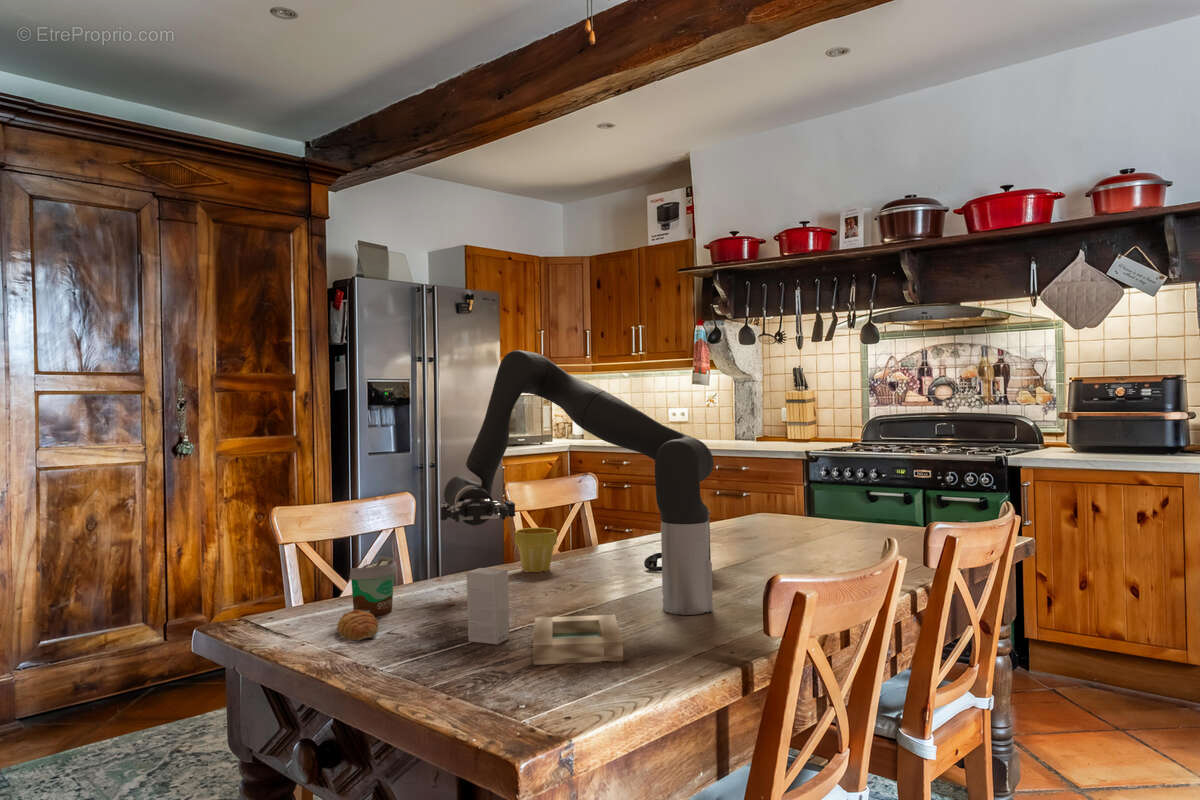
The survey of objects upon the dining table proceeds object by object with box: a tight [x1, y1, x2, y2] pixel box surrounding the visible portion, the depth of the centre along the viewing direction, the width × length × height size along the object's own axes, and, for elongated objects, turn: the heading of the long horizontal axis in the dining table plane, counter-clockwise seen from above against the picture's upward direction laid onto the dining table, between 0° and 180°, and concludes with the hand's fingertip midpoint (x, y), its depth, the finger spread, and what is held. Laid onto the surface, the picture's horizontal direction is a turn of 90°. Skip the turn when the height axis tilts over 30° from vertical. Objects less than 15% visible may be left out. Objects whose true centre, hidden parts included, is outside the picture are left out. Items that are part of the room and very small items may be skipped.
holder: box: [532, 614, 624, 666], centre depth 129 cm, size 14×16×3 cm
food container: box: [349, 556, 398, 618], centre depth 154 cm, size 12×6×10 cm, turn 168°
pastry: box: [336, 609, 379, 642], centre depth 140 cm, size 9×7×4 cm
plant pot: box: [514, 527, 558, 573], centre depth 192 cm, size 10×10×10 cm
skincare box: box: [466, 567, 511, 645], centre depth 135 cm, size 6×4×12 cm
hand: (480, 515), depth 145 cm, fingers open, 8 cm apart
